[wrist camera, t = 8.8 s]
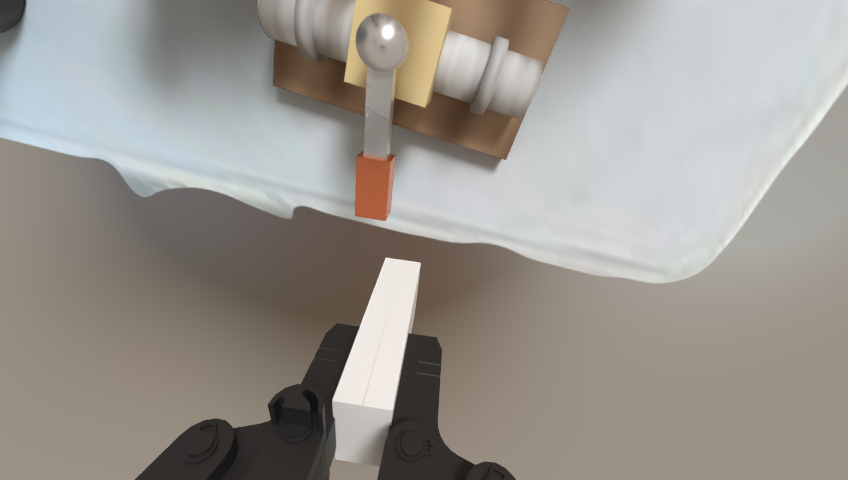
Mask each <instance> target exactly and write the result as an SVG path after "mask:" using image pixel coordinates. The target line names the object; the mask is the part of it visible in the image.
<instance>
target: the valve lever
mask: <svg viewBox="0 0 848 480" xmlns="http://www.w3.org/2000/svg"><path fill="white" fill-rule="evenodd" d="M356 48H357V52H358V55H359V57H360V58H361V60H362V61H363V63H364V64H365V65H366V66H367V78H366V103H365V128H364V151H362V152H361V153H360V154H359V155H358V156H357V166H356V200H355V216H359V217H365V218H371V219H377V220H383V221H386V219H387V217H388V215H389V213H390V210H391V199H392V188H393V177H394V166H395V155H390V144H391V132H392V119H393V107H394V95H395V82H396V70H397V69H398V68H399V67H400V66H402V65H403V63H404V62H405V60H406V59H407V56H408V53H409V38H408V35H407V32H406V30H405V29H404V27H403V26H402V25H401V24H400V23H399V22H398V21H397V20H395V19H394V18H392V17H390V16H389V15H386V14H383V13H375V14H371V15H369V16H367V17H366V18H365V19H364V20H363V21H362V22H361V24H360V25H359V27H358V30H357V33H356Z"/></svg>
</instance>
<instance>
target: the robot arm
mask: <svg viewBox="0 0 848 480" xmlns="http://www.w3.org/2000/svg"><path fill="white" fill-rule="evenodd" d="M23 5H24V0H0V32H4V31H6V30H8V29H10V28H11V27H13V26H14V25H15V24H16V22H17V21H18V20H19V18H20V16H21V13H22V10H23ZM420 265H421V263H419V262H412V261H405V260H398V259H391V258H386V259H385V261H384V264H383V267H382V269H381V272H380V275H379V278H378V280H377V283H376V285H375V288H374V291H373V293H372V296H371V299H370V302H369V304H368V307H367V309H366V312H365V315H364V317H363V320H362V323H361V325H360V327H358V326H351V325H344V324H336V325H335V326H334V327H333V328H332V329H330V330H329V331H328V332H327V333H326V335H325V337H324V338H323V341H322V343H321V345H320V348H319V349H318V351H317V353H316V355H315V358H314V360H313V361H312V363H311V365H310V367H309V369H308V371H307V373H306V375H305V377H304V379H303V381H302V383H301V384H297V385H293V386H290V387H287V388H285V389H283V390H282V391H280V392H279V393H277V394H276V395H275V396H274V397H273V399H272V400H271V401H270V402H269V404H268V408H269V412H270V417H271V420H270V421H268V422H264V423H261V424H256V425H250V426H244V427H238V428H232V426H231V425H230V424H229V423H228V422H227V421H225V420H221V419H211V420H204V421H202V422H200V423H198V424H195V425H193V426H191V427H190V428H189V429H187V430H186V431H185V432H184V433H182V434H181V435H180V436H179V437H178V438H177V439H176V440H175V441H174V442H173V443H172V444H171V445H170V446H169V447H168V448H167V449H166V450H165V451H164V452H163V453H162V454H161V455H159V456H158V457H157V458H156V459H155V460H154V461H153V462H152V463H151V464H150V465H149V466H148V467H147V468H146V469H145V470H144V471H143V472H142V473H141V474H140V475H139V476H138V477H137V478H136V479H135V480H329V476H330V471H329V469H330V466H331V463H332V460H333V457H334V454H335V456H336V459H337V460H343V461H349V462H355V463H361V464H367V465H374V466H379V467H380V469H379V475H378V480H516V479H515V478H514V477H513V476H512V475H511V473H509V472H508V470H506V468H504V467H502V466H500V465H499V464H497V463H493V462H482V463H479V464H477V465H474V464H472V463H471V462H469V461H467V460H465V459H463V458H462V457H460V456H458V455H456V454H455V453H454V452H452V451H451V450H450V449H449V448H448V447H447V446H446V445H445V443H444V442H443V440H442V438H441V436H440V433H439V430H438V406H439V389H440V372H441V356H442V349H441V347H440V345H439V342H438V340H437V338H436V337H430V336H423V335H416V334H411V330H412V325H413V319H414V314H415V305H416V297H417V289H418V281H419V273H420Z"/></svg>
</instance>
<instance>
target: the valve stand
mask: <svg viewBox="0 0 848 480" xmlns="http://www.w3.org/2000/svg"><path fill="white" fill-rule="evenodd" d="M257 8H258V16H259V21H260V24H261V27H262V29H263V31H264V33H265V34H266V35H267V36H268V37H269V38H272V39H275V54H274V78H273V86H276V87H279V88H282V89H285V90H289V91H292V92H295V93H298V94H301V95H304V96H307V97H310V98H314V99H317V100H320V101H323V102H326V103H329V104H332V105H335V106H339V107H342V108H345V109H348V110H351V111H354V112H357V113H361V114H364V115H365V103H366V78H367V66H366V65H365V64H364V63H363V61H362V60H361V58H360V57H359V55H358V52H357V48H356V33H357V30H358V27H359V25H360V24H361V22H362V21H363V20H364V19H365V18H366V17H367V16H369V15H371V14H375V13H383V14H386V15H389V16H390V17H392V18H394V19H395V20H397V21H398V22H399V23H400V24H401V25H402V26H403V27H404V29H405V30H406V32H407V35H408V38H409V53H408V56H407V59H406V60H405V62H404V63H403V65H402V66H400V67H399V68H398V69H397V70H396V82H395V95H394V107H393V119H392V124H395V125H398V126H401V127H404V128H407V129H411V130H414V131H417V132H420V133H423V134H426V135H429V136H432V137H436V138H439V139H442V140H445V141H448V142H451V143H454V144H457V145H461V146H464V147H467V148H470V149H473V150H476V151H479V152H482V153H486V154H489V155H492V156H495V157H498V158H501V159H504V160H506V158H507V156H508V153H509V151H510V149H511V146H512V144H513V142H514V139H515V137H516V134H517V132H518V130H519V127H520V125H521V123H522V120H523V118H524V115H525V113H526V111H527V108H528V106H529V105H530V103H531V101H532V98H533V96H534V94H535V91H536V89H537V86H538V84H539V81H540V78H541V75H542V73H543V70H544V68H545V66H546V63H547V61H548V58H549V56H550V54H551V51H552V49H553V47H554V44H555V42H556V39H557V37H558V35H559V32H560V30H561V28H562V25H563V23H564V20H565V18H566V16H567V13H568V11H569V9H570V8H567V7H564V6H561V5H558V4H555V3H552V2H549V1H547V0H257Z"/></svg>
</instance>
